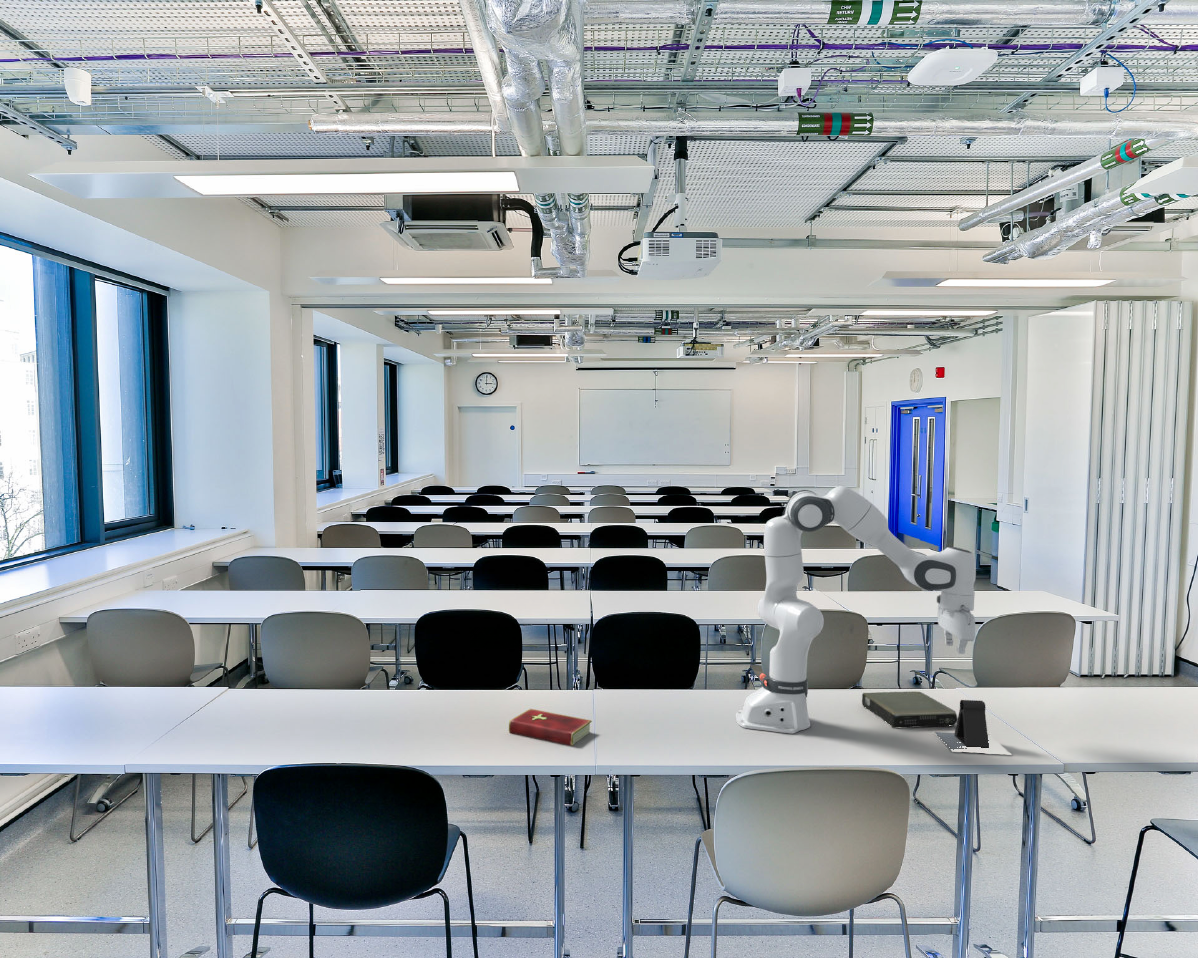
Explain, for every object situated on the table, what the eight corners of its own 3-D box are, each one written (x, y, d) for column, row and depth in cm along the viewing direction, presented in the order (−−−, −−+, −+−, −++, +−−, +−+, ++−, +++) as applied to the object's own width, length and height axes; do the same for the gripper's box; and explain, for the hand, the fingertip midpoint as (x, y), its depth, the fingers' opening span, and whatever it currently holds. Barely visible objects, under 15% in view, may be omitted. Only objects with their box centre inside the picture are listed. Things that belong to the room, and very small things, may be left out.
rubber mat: (952, 752, 209) (952, 750, 209) (934, 733, 223) (934, 731, 223) (1012, 755, 207) (1012, 753, 207) (990, 736, 221) (990, 734, 221)
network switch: (915, 702, 252) (915, 687, 252) (965, 727, 229) (966, 711, 229) (854, 707, 246) (855, 692, 246) (900, 733, 224) (900, 717, 223)
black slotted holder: (988, 748, 210) (990, 706, 210) (967, 747, 211) (968, 705, 210) (975, 736, 219) (976, 696, 219) (954, 735, 220) (955, 695, 219)
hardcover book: (572, 747, 208) (572, 733, 208) (508, 734, 218) (508, 719, 217) (591, 733, 219) (591, 719, 219) (530, 721, 228) (530, 707, 228)
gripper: (982, 610, 208) (979, 659, 209) (956, 596, 229) (953, 641, 229) (959, 608, 209) (956, 657, 210) (934, 595, 230) (932, 640, 230)
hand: (954, 649), depth 220 cm, fingers open, 8 cm apart
